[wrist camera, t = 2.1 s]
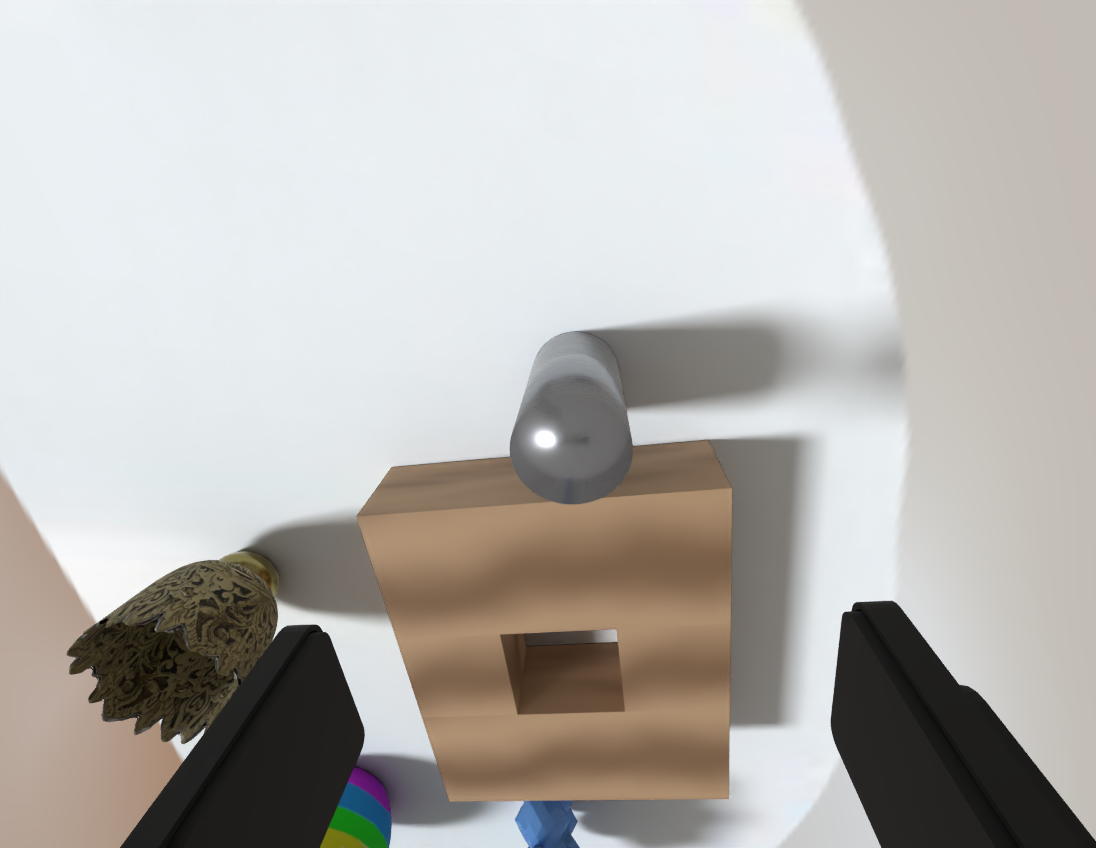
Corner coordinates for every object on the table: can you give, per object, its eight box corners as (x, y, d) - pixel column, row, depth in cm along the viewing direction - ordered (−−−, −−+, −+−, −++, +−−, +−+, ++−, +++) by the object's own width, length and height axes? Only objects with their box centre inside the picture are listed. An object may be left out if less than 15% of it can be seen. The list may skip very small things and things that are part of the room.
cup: (174, 516, 29) (36, 623, 22) (301, 518, 29) (203, 630, 21) (211, 617, 32) (101, 742, 25) (327, 621, 32) (249, 750, 24)
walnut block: (391, 467, 27) (356, 516, 23) (708, 439, 25) (732, 488, 21) (465, 729, 35) (449, 801, 31) (710, 723, 33) (728, 798, 29)
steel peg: (526, 336, 24) (500, 401, 16) (615, 326, 23) (628, 388, 16) (538, 417, 25) (519, 508, 18) (621, 409, 25) (636, 499, 17)
